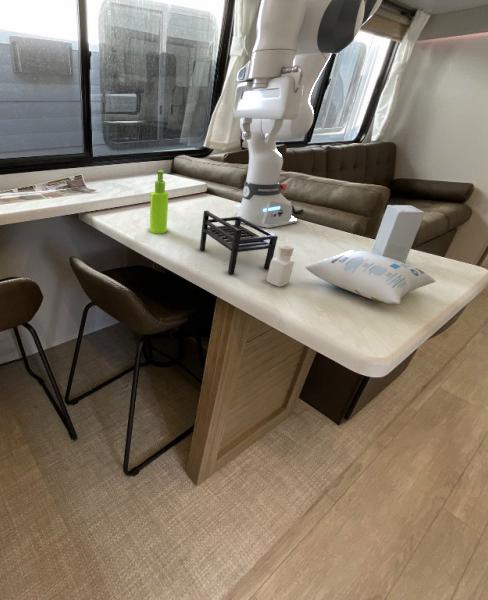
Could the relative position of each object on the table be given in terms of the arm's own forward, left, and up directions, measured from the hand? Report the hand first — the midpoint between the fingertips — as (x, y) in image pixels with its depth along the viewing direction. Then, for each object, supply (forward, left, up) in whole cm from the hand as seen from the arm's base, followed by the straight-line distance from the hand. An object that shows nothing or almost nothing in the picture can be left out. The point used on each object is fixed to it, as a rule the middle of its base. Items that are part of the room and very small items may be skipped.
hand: (256, 141), depth 76 cm
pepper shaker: (-2, +15, -31) cm, 34 cm away
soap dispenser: (+13, -31, -31) cm, 45 cm away
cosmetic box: (-39, +12, -31) cm, 51 cm away
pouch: (-20, +23, -31) cm, 43 cm away
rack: (+1, -1, -31) cm, 31 cm away
